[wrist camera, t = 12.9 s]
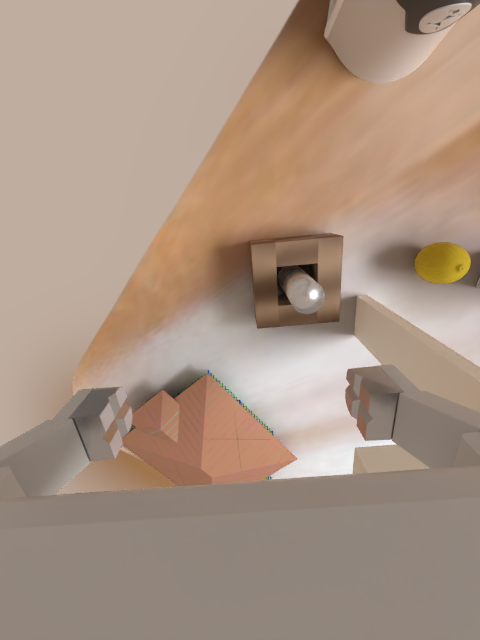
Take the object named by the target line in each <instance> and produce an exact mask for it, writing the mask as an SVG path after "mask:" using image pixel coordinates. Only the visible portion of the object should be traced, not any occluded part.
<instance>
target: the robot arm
mask: <svg viewBox="0 0 480 640" xmlns="http://www.w3.org/2000/svg"><path fill="white" fill-rule="evenodd" d="M479 4H480V0H330V5H329V11H328V18H327V24H326V28H325V33H324V37H325V39H326V40H327V41H328V42H329V44H330V45H331V47H332V48H333V50H334V51H335V53H336V54H337V56H338V58H339V59H340V61H341V62H342V63H343V65H344V66H345V67H346V68H347V69H348V70H349V71H350V72H351V73H352V74H354V75H355V76H356V77H358V78H360V79H362V80H364V81H367V82H370V83H379V84H380V83H389V82H393V81H396V80H399V79H401V78H403V77H405V76H407V75H408V74H410V73H411V72H413V71H414V70H415V69H417V68H418V67H419V66H420V65H421V64H422V63H423V62H424V61H425V60H426V59H427V58H428V57H429V55H430V54H431V53H432V52H433V51H434V49H435V48H436V47H437V45H438V44H439V43H440V41H441V40H442V39H443V38H444V37H445V35H446V34H447V33H448V32H449V30H450V29H451V28H452V27H453V26H454V25H455V23H456V22H457V21H458V20H459V19H461V18H462V17H463V16H465V15H466V14H467V13H468V12H470V11H471V10H472V9H474V8H475V7H476V6H477V5H479ZM346 379H347V381H348V382H349V384H350V385H349V386H348V387H347V388H346V394H345V398H346V404H347V407H348V410H349V412H350V414H351V416H352V417H354V418H356V419H357V427H358V428H359V430H360V432H361V434H362V435H363V437H364V439H365V441H368V440H390V439H392V441H393V442H395V443H396V444H397V445H399V446H400V447H401V448H403V449H404V450H406V451H407V452H408V453H410V454H411V455H412V456H414V457H415V458H417V459H418V460H419V461H421V462H422V463H423V464H425V465H426V466H427V467H429V468H430V469H418V470H404V471H391V472H377V473H362V474H347V475H333V476H318V477H303V478H289V479H274V480H260V481H246V482H232V483H218V484H204V485H190V486H176V487H161V488H147V489H133V490H120V491H119V490H118V491H104V492H90V493H76V494H61V495H55V494H56V493H57V492H59V490H61V489H62V488H63V487H64V486H65V485H66V484H67V483H68V482H69V481H71V480H72V479H73V478H74V477H75V476H76V475H77V474H78V473H79V472H80V471H81V470H83V469H84V468H85V467H86V466H87V465H88V464H89V463H90V461H99V460H109V459H115V458H116V456H117V454H118V452H119V450H120V448H121V446H122V444H123V441H122V437H124V436H125V435H126V434H127V433H128V432H129V430H130V428H131V425H132V419H133V417H132V410H131V406H130V405H128V404H127V403H126V402H125V401H126V399H127V397H128V396H127V393H126V390H125V389H124V388H123V387H111V388H96V389H94V388H93V389H83V390H79V391H78V392H77V393H76V394H75V395H74V396H73V397H72V399H71V400H70V401H69V402H68V403H67V404H66V405H65V406H64V407H63V408H62V410H61V411H60V412H59V413H58V414H57V415H56V416H55V417H54V418H53V419H52V420H47V421H45V422H44V423H42V424H40V425H38V426H36V427H35V428H33V429H31V430H29V431H27V432H26V433H24V434H22V435H20V436H18V437H17V438H15V439H13V440H11V441H9V442H7V443H6V444H4V445H2V446H0V640H480V412H477V411H475V410H472V409H470V408H467V407H465V406H462V405H460V404H457V403H455V402H452V401H450V400H447V399H445V398H442V397H440V396H437V395H435V394H432V393H430V392H427V391H420V390H419V389H418V388H417V387H416V386H415V385H414V384H413V383H412V382H411V381H410V380H409V379H408V378H407V377H406V376H405V375H404V374H403V373H402V372H401V371H400V370H399V369H397V368H396V367H395V366H394V365H391V364H389V365H380V366H373V367H363V368H353V369H348V371H347V377H346Z"/></svg>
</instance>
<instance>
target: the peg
mask: <svg viewBox="0 0 480 640" xmlns="http://www.w3.org/2000/svg"><path fill="white" fill-rule="evenodd" d="M278 281H279V284H280V285H281V287H282V289H283V290H284V292H285V294H286V296H287V297H288V299H289V301H290V302H291V304H292V306H293V308H294V309H295V310H296V311H298V312H299V313H302V314H311V313H314V312H316V311H317V310H319V309H320V308H321V306H322V305H323V303H324V300H325V292H324V290H323V288H322V287H321V286H320V285H319V284H318V283H317V282H316V281H315V280H314V279H312V278H311V277H310V276H309V275H308V274H307V273H306V272H304V271H303V270H302V269H301V268H300V267H299V266H297V265H293V266H285V267H283V268H282V269H281V270H280V272H279V275H278Z"/></svg>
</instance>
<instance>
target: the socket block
mask: <svg viewBox="0 0 480 640" xmlns="http://www.w3.org/2000/svg"><path fill="white" fill-rule="evenodd" d="M342 252H343V236H340V235H336V234H332V233H329V234H319V235H309V236H298V237H288V238H277V239H267V240H257V241H250V253H251V266H252V279H253V293H254V306H255V318H256V324H257V328H269V327H280V326H292V325H303V324H315V323H326V322H338V321H339V313H340V293H341V273H342ZM304 264H309V276H310V277H311V278H312V279H314V280H315V281H316V282H317V283H318V284H319V285H320V286H321V287H322V288H323V290H324V292H325V300H324V303H323V305H322V306H321V308H320V309H319V310H317V311H316V312H314V313H311V314H302V313H299V312H298V311H296V310H295V309H294V308H293V306H292V304H291V302H290V301H289V299H288V297H287V296H286V295H280V296H278V290H277V267H282V266H293V265H304Z"/></svg>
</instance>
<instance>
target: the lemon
mask: <svg viewBox="0 0 480 640" xmlns="http://www.w3.org/2000/svg"><path fill="white" fill-rule="evenodd" d="M470 264H471V259H470V256H469V254H468V253H467V251H466V250H465V249H463V248H462V247H460V246H458V245H456V244H452V243H448V242H440V243H434V244H431V245H428V246H426V247H425V248H423V249H422V250H421V251H420V252H419V253H418V254H417V256H416V258H415V262H414V266H415V270H416V272H417V274H418V275H419V276H420V277H421V278H423V279H424V280H426V281H429V282H432V283H438V284H446V283H452V282H455V281H457V280H459V279H461V278H462V277H463V276H464V275H465V274H466V273H467V272H468V270H469V268H470Z"/></svg>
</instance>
